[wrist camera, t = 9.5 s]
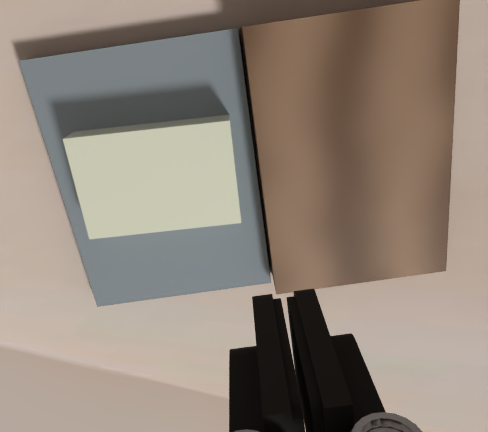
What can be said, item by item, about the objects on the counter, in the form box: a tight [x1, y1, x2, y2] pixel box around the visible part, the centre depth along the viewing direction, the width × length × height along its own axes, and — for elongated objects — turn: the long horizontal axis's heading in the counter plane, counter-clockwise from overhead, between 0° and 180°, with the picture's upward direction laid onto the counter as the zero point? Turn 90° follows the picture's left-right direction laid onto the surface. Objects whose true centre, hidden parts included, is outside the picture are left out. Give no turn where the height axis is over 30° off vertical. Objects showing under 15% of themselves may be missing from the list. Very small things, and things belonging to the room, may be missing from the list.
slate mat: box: [19, 28, 271, 307], centre depth 27 cm, size 12×16×1 cm
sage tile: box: [63, 115, 241, 239], centre depth 25 cm, size 9×6×2 cm, turn 96°
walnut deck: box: [241, 0, 460, 294], centre depth 26 cm, size 11×16×2 cm
